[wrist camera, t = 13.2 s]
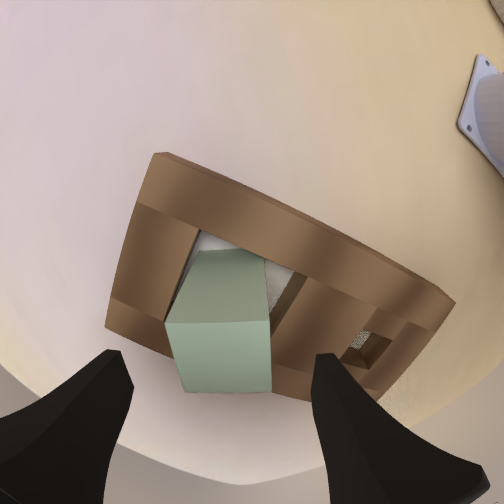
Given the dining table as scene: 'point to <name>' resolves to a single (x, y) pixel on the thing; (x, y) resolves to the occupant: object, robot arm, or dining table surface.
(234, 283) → the peg
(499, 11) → the ramekin
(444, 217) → the dining table surface
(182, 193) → the socket board
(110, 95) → the dining table surface
